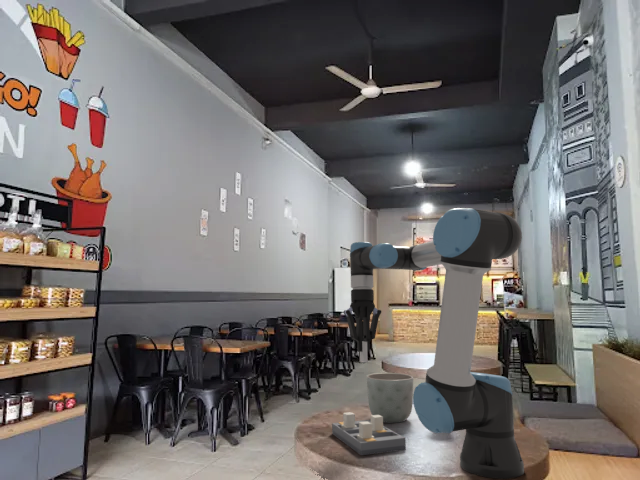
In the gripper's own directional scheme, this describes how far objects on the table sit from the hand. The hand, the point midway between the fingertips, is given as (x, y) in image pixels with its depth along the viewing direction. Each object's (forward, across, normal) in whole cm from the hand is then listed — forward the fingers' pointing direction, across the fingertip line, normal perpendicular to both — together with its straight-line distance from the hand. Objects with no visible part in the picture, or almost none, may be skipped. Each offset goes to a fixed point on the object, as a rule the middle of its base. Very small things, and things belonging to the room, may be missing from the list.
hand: (363, 361), depth 144 cm
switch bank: (+23, +2, +5) cm, 23 cm away
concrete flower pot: (+23, -17, -15) cm, 32 cm away
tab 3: (+21, -1, +5) cm, 22 cm away
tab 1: (+21, +5, -1) cm, 22 cm away
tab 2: (+21, +5, +11) cm, 25 cm away
